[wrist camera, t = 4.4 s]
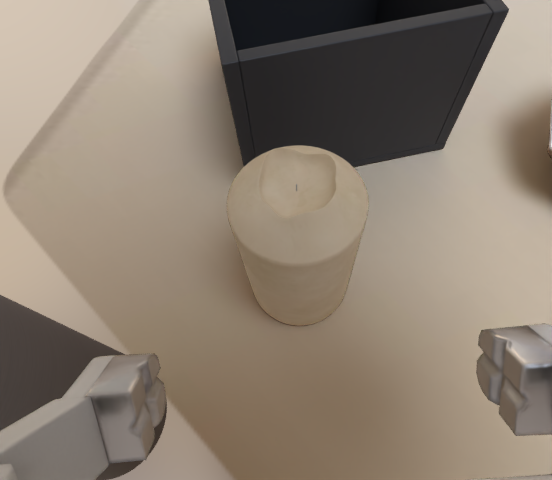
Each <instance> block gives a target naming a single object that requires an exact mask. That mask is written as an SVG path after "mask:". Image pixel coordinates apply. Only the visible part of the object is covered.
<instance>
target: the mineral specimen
mask: <svg viewBox="0 0 552 480" xmlns="http://www.w3.org/2000/svg"><path fill="white" fill-rule="evenodd" d="M547 152H548V154H549V156H550V158H551V159H552V102H551V122H550V141H549V145H548V147H547Z"/></svg>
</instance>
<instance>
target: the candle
mask: <svg viewBox="0 0 552 480" xmlns="http://www.w3.org/2000/svg"><path fill="white" fill-rule="evenodd" d="M368 207H369V201H368V194H367V190H366V187H365V184H364V182H363V180H362V178H361V177H360V175H359V174H358V172H357V171H356V170H355V169H354V168H353V167H352V166H351V165H350V164H349V163H348V162H347V161H345V160H344V159H343V158H341V157H340V156H338V155H336V154H334V153H332V152H330V151H327V150H324V149H321V148H317V147H312V146H302V145H297V146H285V147H281V148H275V149H272V150H270V151H268V152H266V153H263V154H261V155H259V156H258V157H256V158H254V159H253V160H252V161H250V162H249V163H248V164H247V165H246V166H244V167H243V168H242V169H241V171H240V172H239V173H238V174H237V176H236V177H235V179H234V181H233V182H232V185H231V187H230V189H229V193H228V197H227V214H228V220H229V223H230V226H231V229H232V231H233V234H234V237H235V240H236V243H237V246H238V249H239V252H240V255H241V258H242V261H243V264H244V267H245V270H246V273H247V275H248V278H249V281H250V284H251V287H252V290H253V293H254V295H255V298H256V300H257V301H258V303H259V305H260V306H261V307H262V309H263V310H264V311H265V312H266V313H267V314H269V315H270V316H271V317H273V318H274V319H276V320H278V321H280V322H282V323H285V324H289V325H296V326H303V325H310V324H314V323H317V322H319V321H321V320H323V319H325V318H326V317H328V316H329V315H331V314H332V313H333V312H334V311H335V310H336V309H337V307H338V306H339V305H340V303H341V301H342V300H343V297H344V295H345V292H346V289H347V286H348V282H349V279H350V275H351V272H352V268H353V265H354V261H355V258H356V254H357V251H358V247H359V244H360V240H361V237H362V233H363V230H364V226H365V223H366V219H367V215H368Z"/></svg>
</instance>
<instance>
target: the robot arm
mask: <svg viewBox="0 0 552 480" xmlns="http://www.w3.org/2000/svg"><path fill="white" fill-rule="evenodd" d="M478 345H479V347H480V348H481V349H482V351H483V352H484V353H483V354H482V355H481V356H480V357H479V359H478V360H477V370H476V373H477V377H478V382H479V385H480V387H481V389H482V391H483V393H484V394H485V396H486V397H487V399H488V400H490V401H491V402H493V403H495V404H497V405H499V415H500V416H501V417H502V418H503V420H504V421H505V422H506V424H507V425H508V426H509V428H510V429H511V430H512V431H513V433H514V434H515V435H516V436H524V435H552V326H551V325H548V324H544V323H543V324H534V325H525V326H516V327H506V328H496V329H486V330H481V332H480V335H479V341H478ZM160 368H161V367H160V363H159V359H158V356H157V355H156V354H155V353H152V354H133V355H117V356H115V355H112V356H101V357H96V358H93V359H92V361H91V362H90V363H89V364H88V366H87V367H86V368H85V369H84V371H83V372H82V373H81V374H80V376H79V377H78V378H77V380H76V381H75V382H74V383H73V385H72V386H71V387H70V388H69V390H68V391H67V392H66V393H65V395H64V396H63V397H62V399H55V400H53V401H51V402H49V403H48V404H46V405H44V406H42V407H41V408H39V409H37V410H36V411H34V412H32V413H30V414H29V415H27V416H25V417H23V418H22V419H20V420H18V421H17V422H15V423H13V424H11V425H10V426H8V427H6V428H4V429H3V430H1V431H0V480H95V479H96V478H97V477H98V476H99V475H100V474H101V473H102V472H103V471H104V470H105V469H106V468H107V467H108V466H109V463H119V462H129V461H140V460H146V459H147V456H148V453H149V451H150V448H151V446H152V443H153V441H154V438H155V434H154V429H153V428H154V427H156V426H157V425H158V424H159V423H160V422H161V420H162V418H163V415H164V411H165V403H166V394H165V387H164V383H163V382H162V381H161V380H160V379H159V378H158V377H157V375H158V373H159V370H160ZM467 480H552V474H548V475H532V476H516V477H499V478H483V479H467Z"/></svg>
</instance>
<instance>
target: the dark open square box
mask: <svg viewBox="0 0 552 480" xmlns="http://www.w3.org/2000/svg"><path fill="white" fill-rule="evenodd" d="M209 5H210V10H211V15H212V20H213V25H214V30H215V35H216V40H217V45H218V50H219V54H220V59H221V64H222V69H223V73H224V78H225V83H226V87H227V92H228V96H229V101H230V105H231V110H232V115H233V119H234V124H235V128H236V133H237V137H238V142H239V146H240V151H241V156H242V160H243V165H244V166H246V165H247V164H248V163H249V162H250V161H252V160H253V159H254V158H256V157H258V156H259V155H261V154H263V153H266V152H268V151H270V150H272V149H275V148H281V147H285V146H297V145H302V146H312V147H317V148H321V149H324V150H327V151H330V152H332V153H334V154H336V155H338V156H340V157H341V158H343V159H344V160H345V161H347V162H348V163H349V164H350V165H351V166H352V167H355V166H360V165H365V164H370V163H375V162H380V161H385V160H390V159H395V158H400V157H404V156H409V155H414V154H419V153H424V152H429V151H434V150H439V149H443V148H444V146H445V144H446V141H447V139H448V137H449V135H450V133H451V131H452V128H453V126H454V124H455V122H456V120H457V118H458V116H459V114H460V112H461V110H462V108H463V105H464V103H465V101H466V99H467V97H468V95H469V93H470V91H471V89H472V87H473V84H474V82H475V80H476V78H477V76H478V74H479V72H480V70H481V68H482V66H483V64H484V61H485V59H486V57H487V55H488V53H489V51H490V49H491V47H492V45H493V43H494V40H495V38H496V36H497V34H498V32H499V30H500V28H501V26H502V24H503V22H504V20H505V17H506V15H507V13H508V11H509V9H508V7H507V6H506V5H505V4H504V3H503V1H502V0H209Z"/></svg>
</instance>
